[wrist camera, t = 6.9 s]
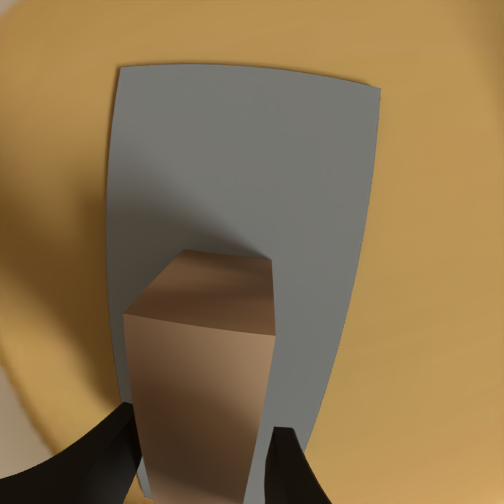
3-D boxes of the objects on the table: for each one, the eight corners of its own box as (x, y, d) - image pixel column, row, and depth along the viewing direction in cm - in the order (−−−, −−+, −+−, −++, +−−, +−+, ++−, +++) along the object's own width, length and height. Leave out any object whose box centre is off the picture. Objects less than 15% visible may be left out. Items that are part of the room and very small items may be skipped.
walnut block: (271, 260, 11) (275, 335, 6) (241, 463, 13) (233, 543, 9) (183, 249, 11) (122, 313, 6) (183, 454, 13) (162, 531, 9)
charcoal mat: (277, 511, 16) (277, 516, 15) (145, 492, 16) (144, 496, 15) (377, 90, 9) (380, 88, 9) (125, 70, 9) (120, 67, 9)
